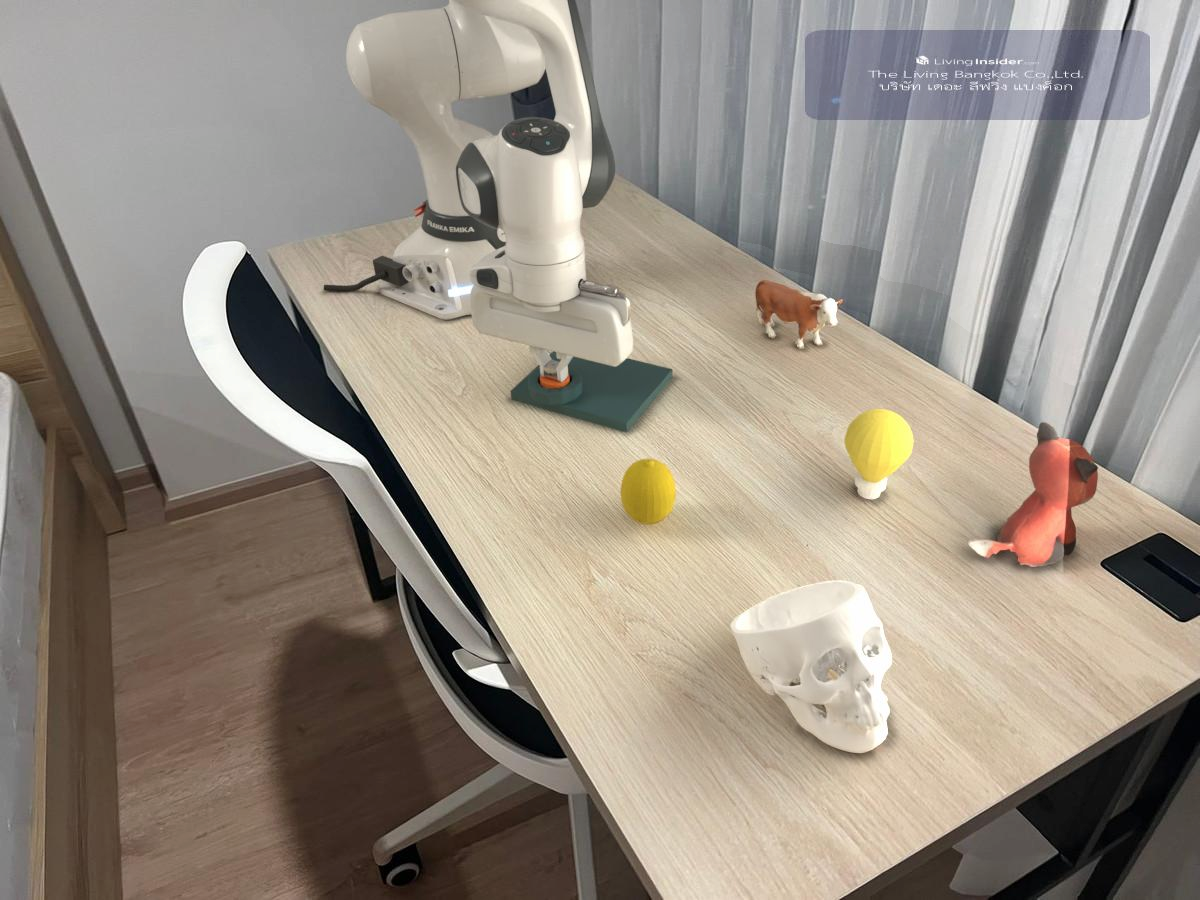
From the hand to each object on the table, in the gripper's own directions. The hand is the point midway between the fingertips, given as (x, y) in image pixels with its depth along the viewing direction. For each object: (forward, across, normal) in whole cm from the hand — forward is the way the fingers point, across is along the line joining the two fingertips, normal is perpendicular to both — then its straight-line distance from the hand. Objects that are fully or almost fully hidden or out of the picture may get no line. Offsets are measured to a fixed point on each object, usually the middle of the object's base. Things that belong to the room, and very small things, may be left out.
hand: (554, 377), depth 109 cm
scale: (+3, -3, -4) cm, 6 cm away
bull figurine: (+4, -22, -26) cm, 34 cm away
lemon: (+4, -20, +15) cm, 25 cm away
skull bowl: (+4, -41, +28) cm, 50 cm away
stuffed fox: (+4, -54, +3) cm, 54 cm away
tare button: (+2, 0, 0) cm, 2 cm away
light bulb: (+4, -39, +1) cm, 39 cm away
